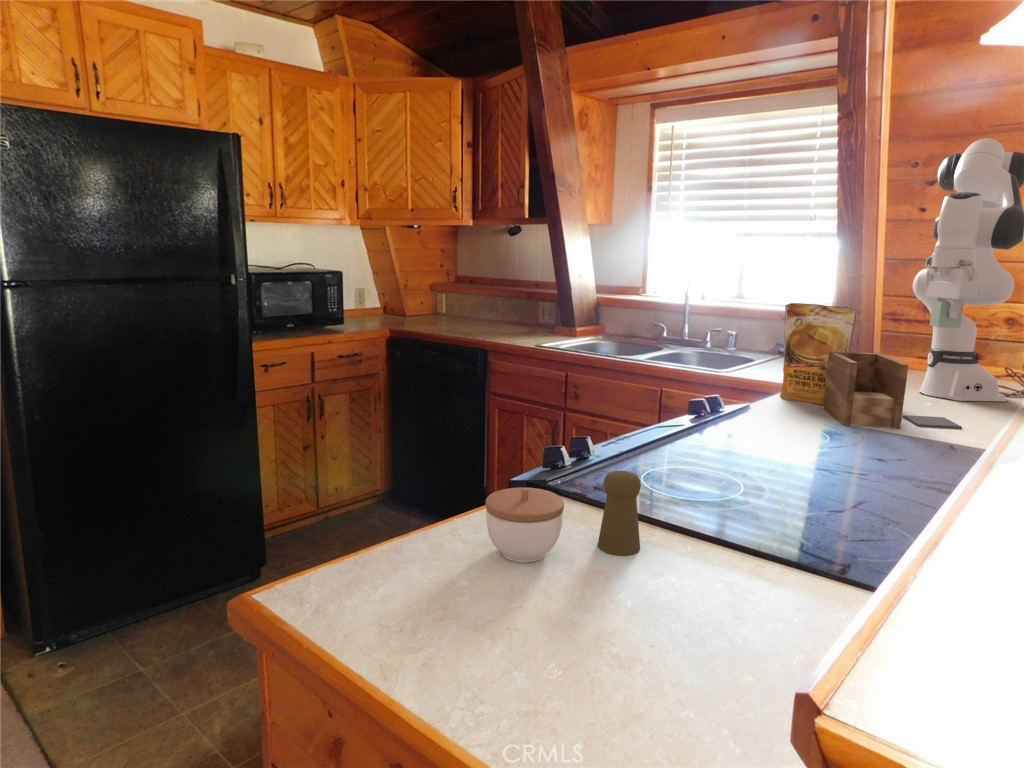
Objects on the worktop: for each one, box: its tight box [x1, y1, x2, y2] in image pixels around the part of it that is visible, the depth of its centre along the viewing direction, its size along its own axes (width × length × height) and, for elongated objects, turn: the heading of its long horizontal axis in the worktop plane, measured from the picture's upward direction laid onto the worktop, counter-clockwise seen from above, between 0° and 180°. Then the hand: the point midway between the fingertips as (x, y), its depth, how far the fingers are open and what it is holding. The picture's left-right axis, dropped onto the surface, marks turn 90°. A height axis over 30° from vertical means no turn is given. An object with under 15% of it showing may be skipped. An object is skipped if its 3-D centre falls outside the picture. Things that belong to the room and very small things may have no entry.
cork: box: [597, 470, 642, 557], centre depth 96 cm, size 6×6×11 cm
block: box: [929, 302, 965, 328], centre depth 168 cm, size 5×5×6 cm
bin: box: [822, 351, 909, 430], centre depth 176 cm, size 13×20×16 cm, turn 170°
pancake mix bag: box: [779, 302, 857, 406], centre depth 195 cm, size 7×19×28 cm, turn 45°
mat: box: [902, 414, 963, 430], centre depth 174 cm, size 10×10×1 cm
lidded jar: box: [485, 487, 565, 564], centre depth 93 cm, size 11×11×9 cm
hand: (946, 317), depth 169 cm, fingers closed on block, 5 cm apart
